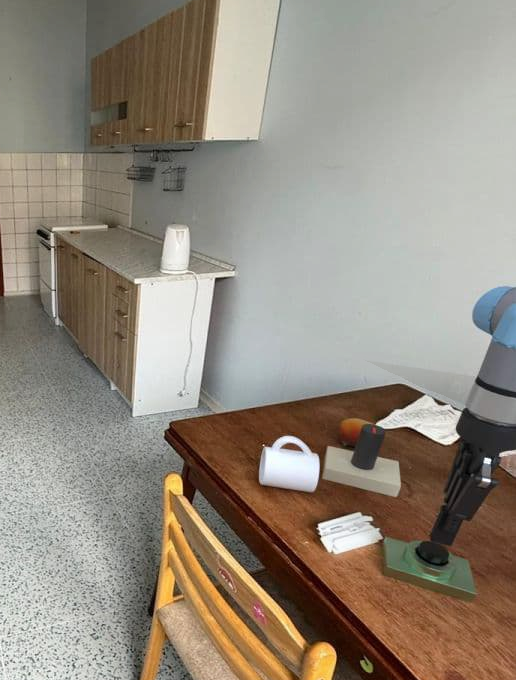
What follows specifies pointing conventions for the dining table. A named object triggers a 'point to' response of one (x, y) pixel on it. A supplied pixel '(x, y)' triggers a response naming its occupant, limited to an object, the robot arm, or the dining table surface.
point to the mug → (289, 466)
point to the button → (433, 553)
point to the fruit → (351, 431)
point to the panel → (362, 472)
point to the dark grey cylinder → (368, 446)
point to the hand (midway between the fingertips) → (440, 540)
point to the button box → (427, 570)
